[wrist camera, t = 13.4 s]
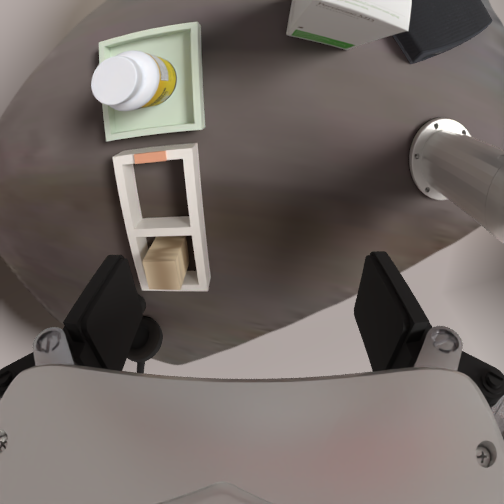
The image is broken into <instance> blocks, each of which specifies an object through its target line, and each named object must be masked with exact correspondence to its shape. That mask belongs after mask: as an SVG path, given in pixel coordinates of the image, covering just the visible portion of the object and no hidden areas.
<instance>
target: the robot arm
mask: <svg viewBox="0 0 504 504" xmlns="http://www.w3.org/2000/svg"><path fill="white" fill-rule="evenodd" d="M409 166H410V172H411V175H412V178H413V181H414V182H415V184H416V186H417V187H418V188H419V190H420V191H421V192H423V193H424V194H425V195H427V196H428V197H430V198H432V199H435V200H448V199H449V200H450V201H451V202H453V203H454V204H455V205H457V206H458V207H459V208H461V209H462V210H463V211H464V212H466V213H467V214H468V215H469V216H471V217H472V218H473V219H474V220H476V221H477V222H478V223H479V224H480V225H482V226H483V227H484V228H485V229H486V230H487V231H489V232H490V233H491V234H492V235H493V236H494V237H496V238H497V239H498V240H499V241H501V242H502V243H503V244H504V150H502V149H500V148H498V147H495V146H493V145H490V144H488V143H486V142H483V141H481V140H478V139H476V138H473V137H471V135H470V134H469V132H468V131H467V129H466V128H465V127H464V126H463V125H462V124H460V123H459V122H457V121H455V120H452V119H449V118H436V119H432V120H431V121H429V122H427V123H426V124H424V125H423V126H422V127H421V128H420V130H419V131H418V132H417V134H416V136H415V137H414V139H413V142H412V145H411V148H410V155H409ZM142 316H143V311H142V307H141V304H140V301H139V298H138V294H137V291H136V288H135V285H134V281H133V278H132V274H131V271H130V267H129V263H128V260H127V259H124V257H123V256H122V255H108V256H107V258H106V259H105V260H104V262H103V263H102V265H101V266H100V267H99V269H98V270H97V272H96V273H95V275H94V276H93V277H92V279H91V280H90V282H89V283H88V285H87V286H86V288H85V289H84V291H83V292H82V294H81V295H80V297H79V298H78V300H77V301H76V303H75V304H74V306H73V308H72V309H71V311H70V312H69V314H68V316H67V317H66V319H65V320H64V322H63V323H64V325H65V326H64V328H63V330H62V329H60V328H57V327H52V328H48V329H45V330H44V331H42V332H41V333H40V334H39V335H38V336H37V337H36V338H35V340H34V343H33V353H31V354H29V355H27V356H25V357H23V358H21V359H19V360H17V361H15V362H13V363H12V364H10V365H8V366H6V367H4V368H2V369H1V370H0V504H504V375H503V374H502V373H501V371H499V370H498V369H497V368H495V367H493V366H491V365H489V364H487V363H485V362H483V361H481V360H479V359H477V358H475V357H473V356H471V355H469V354H467V353H465V352H463V351H462V346H463V345H462V340H461V338H460V337H459V335H458V334H457V333H456V332H455V331H454V330H452V329H450V328H448V327H444V326H436V327H433V328H432V326H431V325H430V323H429V320H428V318H427V317H426V315H425V313H424V311H423V310H422V308H421V307H420V305H419V303H418V301H417V300H416V298H415V296H414V295H413V293H412V292H411V290H410V288H409V286H408V285H407V283H406V282H405V280H404V279H403V277H402V275H401V274H400V272H399V271H398V269H397V268H396V266H395V265H394V263H393V262H392V260H391V259H390V257H389V256H388V254H387V253H386V252H384V251H383V252H371V253H370V255H367V256H366V259H365V263H364V268H363V273H362V277H361V282H360V286H359V290H358V295H357V299H356V303H355V307H354V316H355V319H356V322H357V325H358V328H359V331H360V333H361V336H362V339H363V342H364V345H365V348H366V351H367V354H368V357H369V360H370V363H371V367H372V370H373V372H365V373H355V374H345V375H333V376H321V377H306V378H281V379H215V378H214V379H213V378H193V377H177V376H176V377H175V376H163V375H152V374H143V373H133V372H126V371H122V369H123V366H124V364H125V361H126V358H127V356H128V353H129V350H130V348H131V345H132V342H133V340H134V337H135V335H136V332H137V330H138V327H139V324H140V322H141V319H142Z"/></svg>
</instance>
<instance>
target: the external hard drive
mask: <svg viewBox="0 0 504 504" xmlns="http://www.w3.org/2000/svg"><path fill="white" fill-rule="evenodd" d="M491 22H492V19H491V17H490V15H489V14H488V12H487V10H486V8H485V7H484V5H483V3H482V1H481V0H412V4H411V14H410V22H409V30H408V31H405V32H402V33H398V34H395V35H392V36H393V37H394V39H395V40H396V42H397V43H398V45H399V46H400V48H401V49H402V51H403V53H404V54H405V56H406V57H407V59H408V61H409V62H410V64H413V63H417V62H420V61H423V60H425V59H428V58H431V57H433V56H436V55H439V54H441V53H443V52H446V51H448V50H450V49H452V48H454V47H457V46H459V45H461V44H462V43H464V42H466V41H468V40H470V39H471V38H473V37H474V36H476V35H477V34H479V33H480V32H482V31H483V30H484V29H485V28H487V27H488V26H489V25H490V24H491Z"/></svg>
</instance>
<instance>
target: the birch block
mask: <svg viewBox="0 0 504 504" xmlns="http://www.w3.org/2000/svg"><path fill="white" fill-rule="evenodd" d="M189 262H190V260H189V253H188V246H187V239H186V236H156V238H155V240H154V241H153V243H152V245H151V247H150V248H149V250H148V252H147V254H146V256H145V257H144V259H143V261H142V263H143V267H144V271H145V275H146V279H147V283H148V287H149V289H156V290H181V287H182V284H183V281H184V277H185V274H186V271H187V268H188V265H189Z"/></svg>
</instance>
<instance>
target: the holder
mask: <svg viewBox="0 0 504 504" xmlns="http://www.w3.org/2000/svg"><path fill="white" fill-rule="evenodd" d="M173 159H183V164H184V174H185V184H186V193H187V202H188V210H189V216H181V217H159V218H142V215H141V209H140V204H139V198H138V192H137V186H136V180H135V173H134V167H133V164H134V163H135V164H140V163H149V162H159V161H166V160H173ZM113 164H114V170H115V176H116V182H117V187H118V193H119V198H120V203H121V208H122V213H123V217H124V222H125V226H126V231H127V235H128V239H129V243H130V248H131V252H132V256H133V259H134V263H135V267H136V271H137V274H138V278H139V282H140V285H141V288H142V290H145V291H208V288H209V283H210V278H211V275H210V267H209V259H208V250H207V241H206V232H205V222H204V212H203V202H202V191H201V180H200V168H199V156H198V143H190V144H178V145H167V146H158V147H149V148H141V149H133V150H126V151H122V152H120V153H119V154H117V155H115V156H113ZM189 235H192V241H193V249H194V256H195V263H196V269H197V271H186V274H185V277H184V281H183V284H182V287H181V290H156V289H149V287H148V283H147V279H146V275H145V271H144V267H143V263H142V261H143V259H144V257H145V256H146V254H147V252H148V250H149V249H148V244H147V240H146V237H155V236H189Z"/></svg>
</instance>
